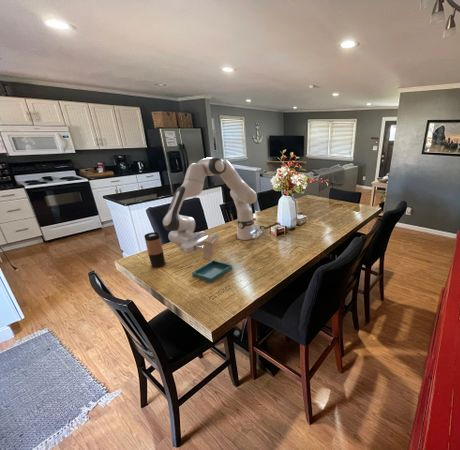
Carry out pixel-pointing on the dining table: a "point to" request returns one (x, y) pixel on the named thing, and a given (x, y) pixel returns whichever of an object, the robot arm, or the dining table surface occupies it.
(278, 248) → the dining table surface
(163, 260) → the travel mug
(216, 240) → the supplement box
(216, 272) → the tray
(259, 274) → the dining table surface
